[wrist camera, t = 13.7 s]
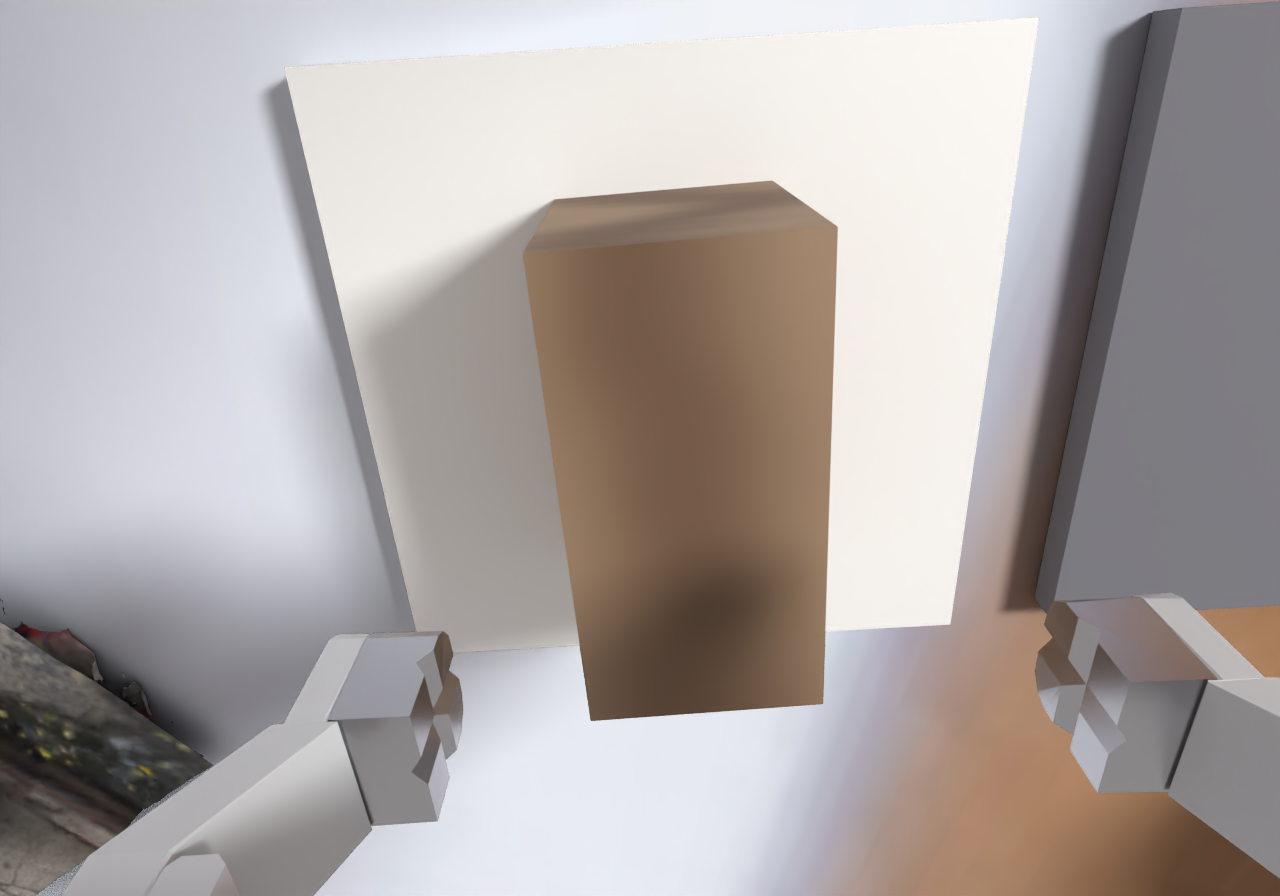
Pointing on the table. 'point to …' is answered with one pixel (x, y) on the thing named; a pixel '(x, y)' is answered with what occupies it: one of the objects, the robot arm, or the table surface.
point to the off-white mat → (648, 161)
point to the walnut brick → (691, 440)
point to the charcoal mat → (1184, 336)
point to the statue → (72, 758)
